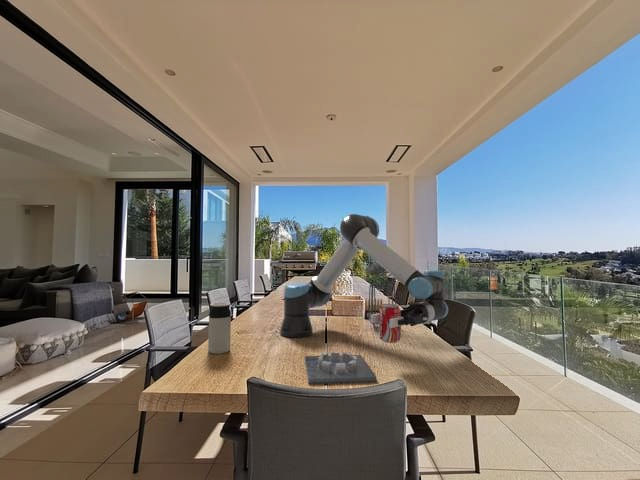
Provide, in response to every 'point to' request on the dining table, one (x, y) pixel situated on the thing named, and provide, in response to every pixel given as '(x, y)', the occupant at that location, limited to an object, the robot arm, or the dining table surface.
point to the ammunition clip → (378, 307)
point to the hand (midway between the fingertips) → (380, 321)
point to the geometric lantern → (378, 287)
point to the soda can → (384, 321)
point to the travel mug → (219, 328)
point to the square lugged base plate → (338, 369)
